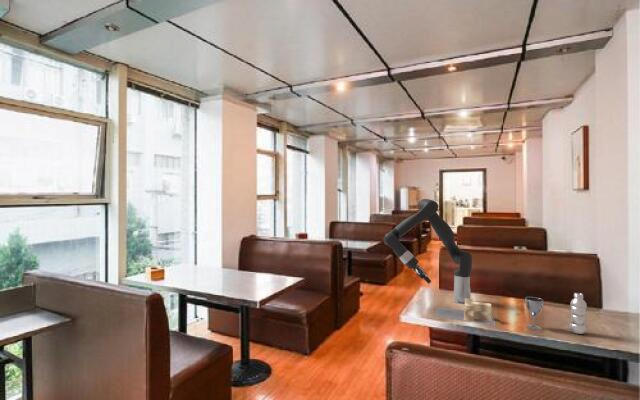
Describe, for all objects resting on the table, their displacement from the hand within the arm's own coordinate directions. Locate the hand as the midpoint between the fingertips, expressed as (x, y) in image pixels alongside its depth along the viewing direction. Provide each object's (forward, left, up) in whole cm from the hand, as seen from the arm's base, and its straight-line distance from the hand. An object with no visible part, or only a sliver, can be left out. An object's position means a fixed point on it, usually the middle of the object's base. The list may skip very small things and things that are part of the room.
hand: (430, 282), depth 194 cm
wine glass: (-33, +40, -18) cm, 55 cm away
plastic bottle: (-46, +54, -18) cm, 73 cm away
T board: (-12, +14, -18) cm, 26 cm away
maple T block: (-16, +20, -17) cm, 30 cm away
